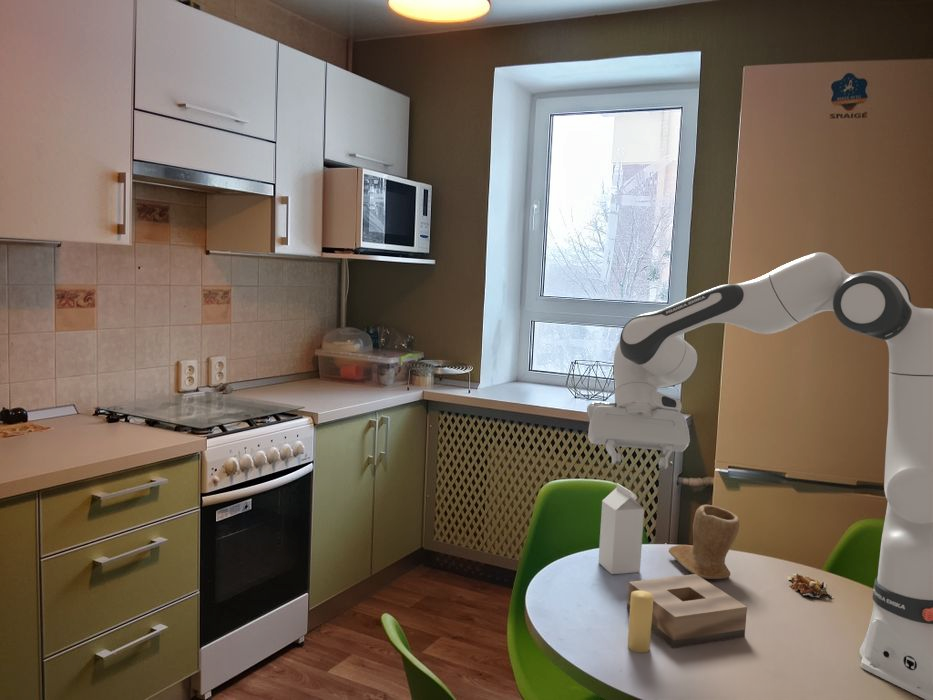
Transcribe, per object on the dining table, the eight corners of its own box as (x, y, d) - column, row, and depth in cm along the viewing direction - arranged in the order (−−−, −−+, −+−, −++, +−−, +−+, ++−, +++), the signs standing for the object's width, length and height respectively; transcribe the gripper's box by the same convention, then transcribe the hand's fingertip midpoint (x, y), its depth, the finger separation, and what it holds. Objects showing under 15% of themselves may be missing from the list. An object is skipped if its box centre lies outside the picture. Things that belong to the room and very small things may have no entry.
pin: (654, 651, 144) (657, 598, 143) (635, 654, 143) (638, 601, 141) (642, 640, 148) (645, 589, 146) (623, 643, 146) (626, 591, 145)
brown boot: (744, 582, 177) (750, 517, 175) (694, 584, 175) (699, 518, 173) (713, 556, 192) (718, 496, 190) (666, 558, 190) (671, 497, 188)
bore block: (744, 636, 151) (747, 606, 150) (672, 648, 145) (675, 616, 145) (693, 601, 166) (695, 573, 165) (626, 610, 160) (628, 581, 160)
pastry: (804, 577, 182) (806, 563, 181) (835, 601, 170) (837, 585, 169) (776, 578, 181) (777, 563, 180) (805, 601, 169) (807, 585, 168)
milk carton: (611, 575, 178) (616, 492, 176) (598, 563, 185) (602, 483, 182) (640, 572, 180) (645, 491, 178) (625, 561, 187) (631, 482, 184)
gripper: (589, 392, 163) (591, 453, 155) (688, 402, 163) (695, 463, 155) (584, 408, 168) (585, 467, 160) (680, 417, 168) (685, 477, 160)
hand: (640, 465), depth 157 cm, fingers open, 8 cm apart
